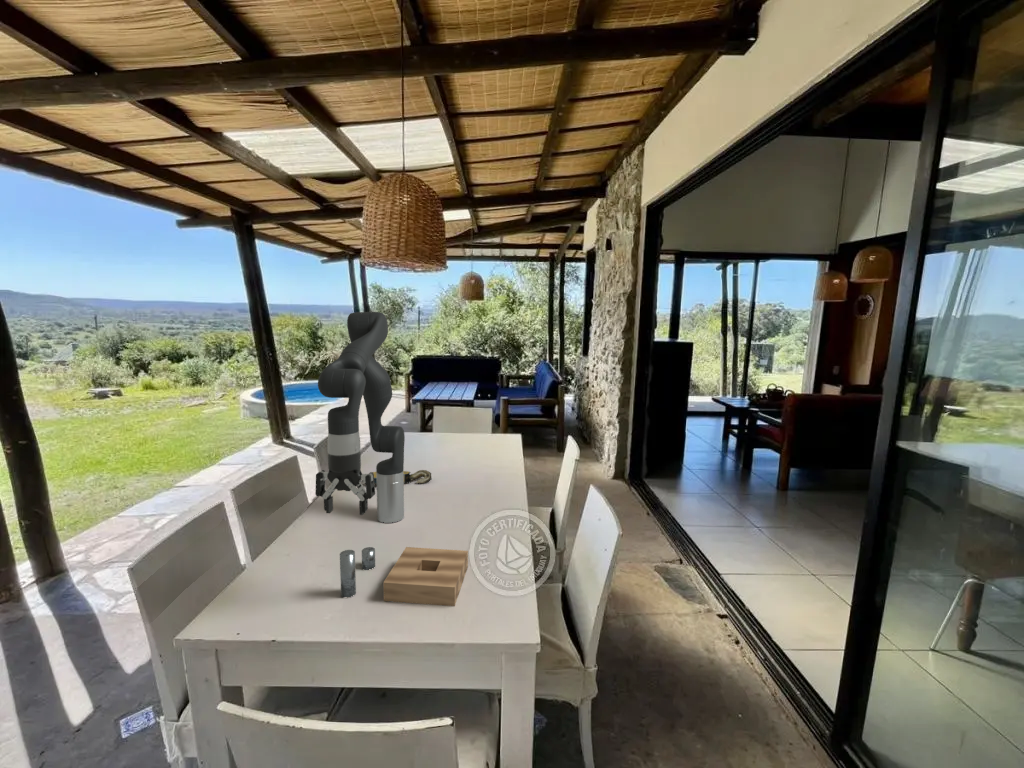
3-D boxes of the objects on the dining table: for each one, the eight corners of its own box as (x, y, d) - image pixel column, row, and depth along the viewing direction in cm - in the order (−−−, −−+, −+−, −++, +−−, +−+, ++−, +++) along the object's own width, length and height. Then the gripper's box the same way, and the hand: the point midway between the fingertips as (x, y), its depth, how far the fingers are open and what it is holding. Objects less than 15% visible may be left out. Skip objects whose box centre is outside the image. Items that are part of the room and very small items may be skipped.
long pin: (344, 589, 117) (343, 549, 115) (358, 590, 117) (357, 550, 115) (338, 597, 113) (337, 556, 112) (352, 598, 113) (351, 557, 112)
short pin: (365, 563, 130) (364, 546, 129) (377, 563, 129) (376, 547, 129) (359, 569, 126) (359, 553, 126) (372, 570, 126) (372, 553, 125)
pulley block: (430, 472, 189) (357, 473, 187) (430, 486, 189) (357, 488, 186) (433, 467, 203) (365, 468, 201) (433, 480, 203) (365, 481, 200)
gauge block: (406, 563, 130) (406, 547, 129) (467, 567, 129) (468, 550, 128) (383, 601, 112) (383, 582, 112) (454, 606, 111) (454, 587, 110)
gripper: (378, 446, 113) (379, 508, 115) (323, 444, 114) (325, 505, 116) (366, 455, 106) (367, 521, 108) (308, 452, 107) (310, 517, 109)
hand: (346, 512), depth 112 cm, fingers open, 8 cm apart
